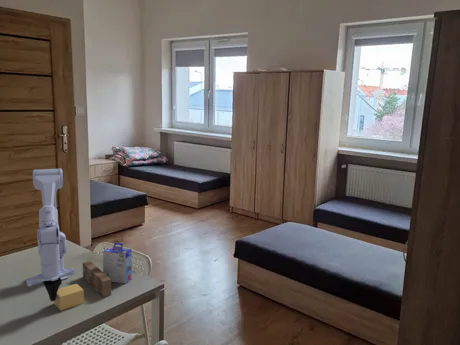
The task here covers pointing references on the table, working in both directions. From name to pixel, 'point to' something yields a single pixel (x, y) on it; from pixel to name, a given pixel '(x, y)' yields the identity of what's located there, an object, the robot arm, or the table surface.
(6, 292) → the table surface
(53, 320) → the table surface
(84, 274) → the walnut block
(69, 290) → the ochre block
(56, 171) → the robot arm
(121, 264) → the ink cartridge box
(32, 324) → the table surface
